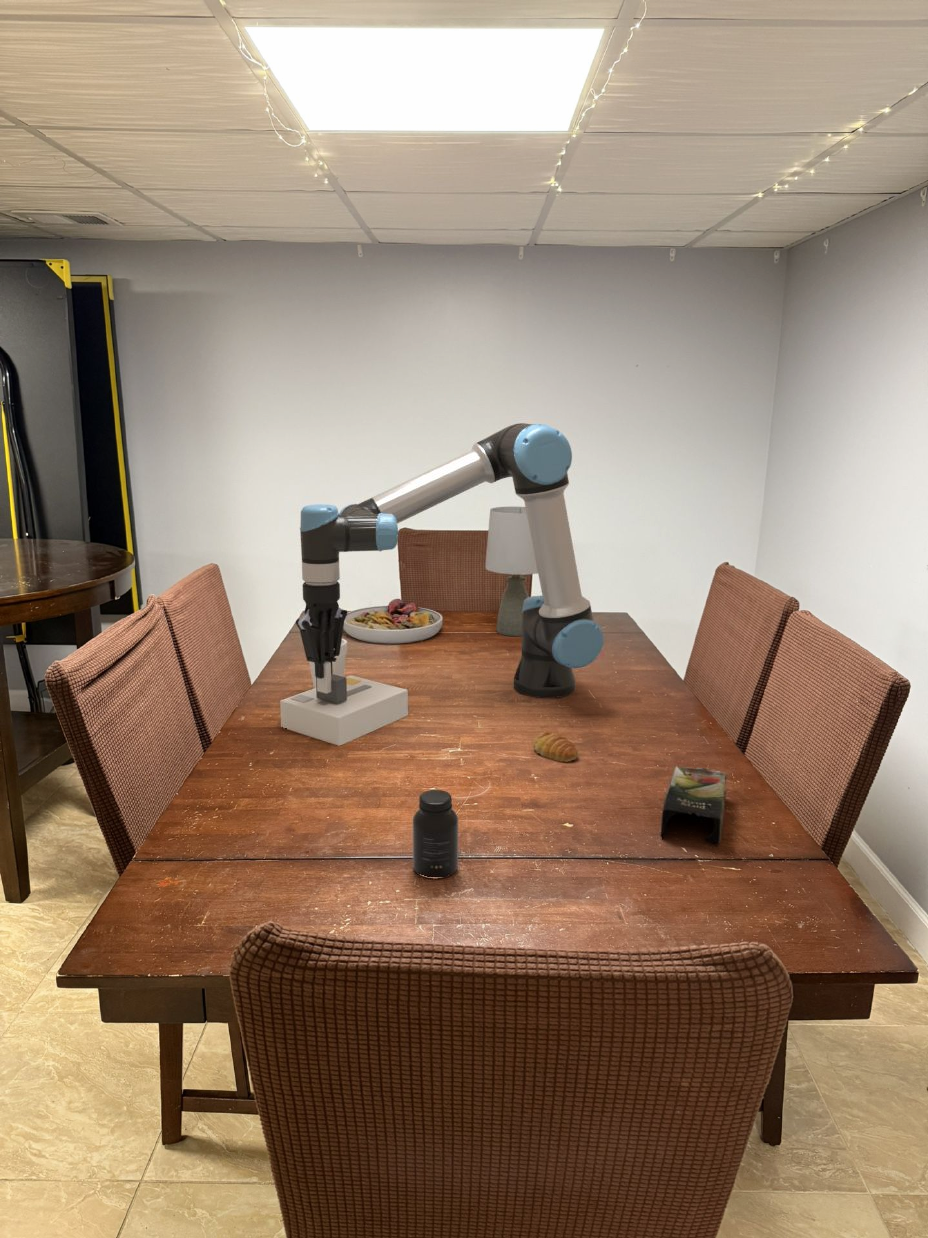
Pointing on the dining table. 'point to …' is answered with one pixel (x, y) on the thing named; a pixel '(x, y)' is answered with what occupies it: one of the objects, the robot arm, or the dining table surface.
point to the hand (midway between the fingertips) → (324, 691)
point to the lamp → (510, 563)
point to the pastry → (555, 747)
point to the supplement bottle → (435, 835)
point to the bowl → (393, 623)
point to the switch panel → (345, 711)
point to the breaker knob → (335, 690)
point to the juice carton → (696, 797)
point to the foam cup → (334, 663)
